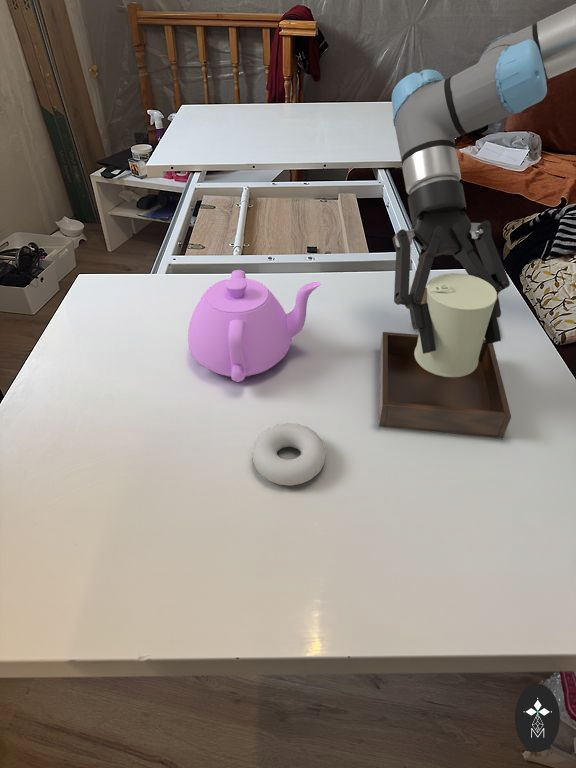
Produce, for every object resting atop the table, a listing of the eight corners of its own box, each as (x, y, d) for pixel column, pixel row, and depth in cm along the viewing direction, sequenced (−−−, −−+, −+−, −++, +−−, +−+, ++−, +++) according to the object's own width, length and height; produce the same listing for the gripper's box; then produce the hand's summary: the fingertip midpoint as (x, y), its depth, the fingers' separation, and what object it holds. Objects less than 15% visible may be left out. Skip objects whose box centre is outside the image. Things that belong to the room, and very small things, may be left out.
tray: (485, 361, 89) (492, 340, 86) (502, 438, 76) (511, 416, 73) (379, 352, 91) (382, 331, 88) (378, 426, 78) (382, 405, 75)
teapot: (324, 393, 83) (329, 320, 74) (184, 398, 82) (171, 325, 73) (312, 313, 99) (314, 246, 90) (195, 317, 99) (186, 249, 89)
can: (410, 338, 82) (422, 269, 74) (470, 339, 82) (489, 270, 74) (418, 377, 75) (433, 305, 67) (484, 378, 75) (507, 306, 67)
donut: (336, 478, 71) (309, 426, 78) (338, 462, 68) (310, 410, 75) (265, 500, 68) (243, 444, 75) (265, 484, 66) (242, 427, 73)
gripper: (490, 193, 80) (517, 340, 79) (353, 207, 77) (379, 361, 76) (519, 169, 72) (549, 332, 71) (368, 184, 69) (397, 354, 68)
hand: (461, 347), depth 73 cm, fingers closed on can, 9 cm apart
